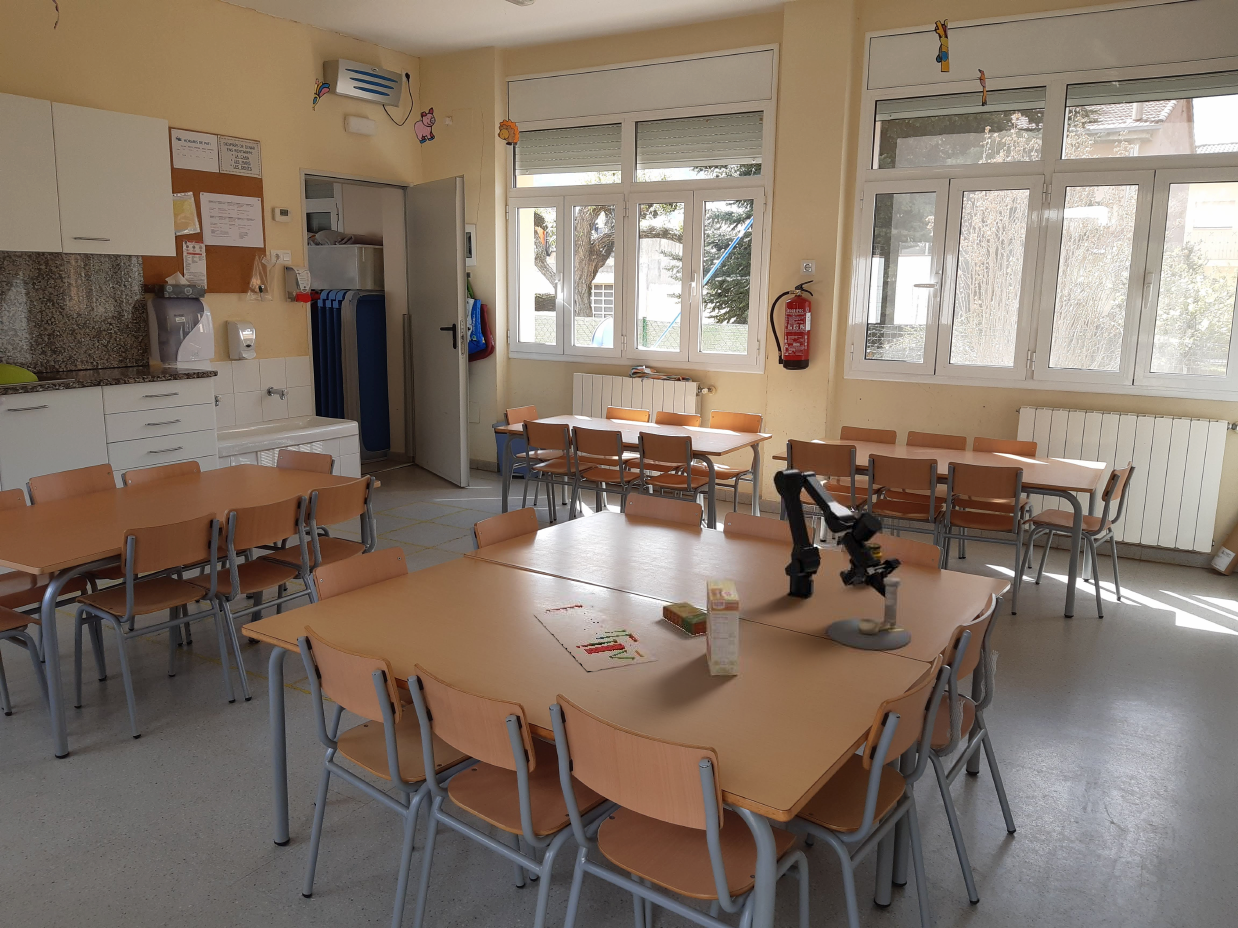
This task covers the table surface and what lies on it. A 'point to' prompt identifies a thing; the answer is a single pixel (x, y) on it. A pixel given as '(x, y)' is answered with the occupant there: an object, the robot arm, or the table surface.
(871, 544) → the condiment
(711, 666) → the coffeecake box
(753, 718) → the table surface
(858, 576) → the robot arm
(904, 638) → the dial plate
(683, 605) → the carton
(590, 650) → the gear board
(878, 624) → the crank handle
